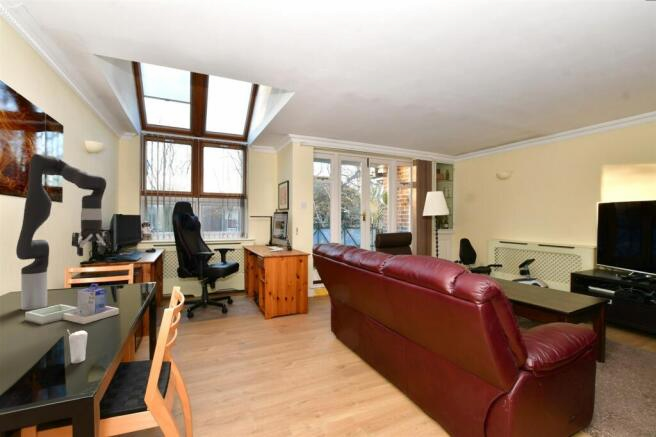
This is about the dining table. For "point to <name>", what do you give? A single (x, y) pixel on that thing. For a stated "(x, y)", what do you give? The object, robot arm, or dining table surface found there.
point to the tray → (48, 314)
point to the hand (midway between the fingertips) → (91, 254)
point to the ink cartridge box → (91, 301)
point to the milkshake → (78, 346)
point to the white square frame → (73, 316)
